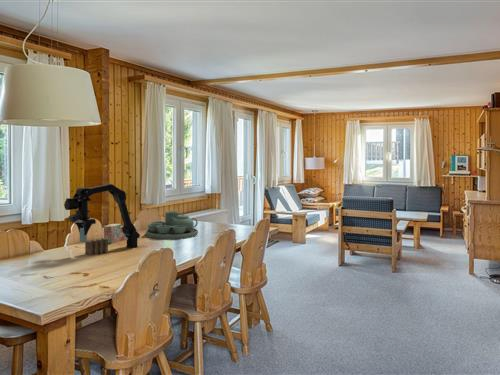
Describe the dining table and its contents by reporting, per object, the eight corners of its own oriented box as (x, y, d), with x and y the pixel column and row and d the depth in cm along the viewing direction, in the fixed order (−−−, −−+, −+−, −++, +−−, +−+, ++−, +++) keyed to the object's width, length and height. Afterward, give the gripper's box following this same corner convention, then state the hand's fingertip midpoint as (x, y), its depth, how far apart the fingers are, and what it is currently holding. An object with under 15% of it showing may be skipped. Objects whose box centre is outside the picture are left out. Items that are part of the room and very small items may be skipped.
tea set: (136, 234, 338) (136, 213, 337) (179, 229, 365) (179, 209, 364) (163, 241, 309) (163, 219, 308) (208, 235, 336) (208, 214, 335)
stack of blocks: (121, 238, 319) (121, 221, 318) (128, 238, 317) (128, 222, 316) (103, 243, 298) (103, 225, 297) (111, 244, 296) (111, 226, 296)
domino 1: (87, 253, 266) (87, 240, 265) (92, 254, 263) (92, 241, 262) (85, 254, 265) (85, 241, 264) (89, 255, 261) (89, 242, 261)
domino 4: (103, 250, 274) (103, 238, 274) (107, 252, 271) (107, 239, 271) (101, 251, 273) (101, 238, 272) (105, 252, 270) (105, 239, 269)
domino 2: (93, 252, 269) (93, 239, 268) (97, 253, 265) (97, 241, 265) (90, 253, 267) (90, 240, 267) (95, 254, 264) (95, 241, 264)
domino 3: (98, 251, 271) (98, 239, 271) (102, 252, 268) (102, 240, 268) (96, 252, 270) (95, 239, 270) (100, 253, 267) (100, 240, 266)
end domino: (82, 241, 262) (82, 228, 262) (86, 242, 259) (86, 229, 259) (79, 241, 261) (79, 228, 261) (84, 242, 258) (84, 229, 258)
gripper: (62, 208, 259) (62, 234, 260) (78, 211, 247) (78, 238, 248) (79, 207, 267) (79, 231, 268) (96, 209, 256) (96, 235, 257)
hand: (83, 234), depth 260 cm, fingers closed on end domino, 5 cm apart
